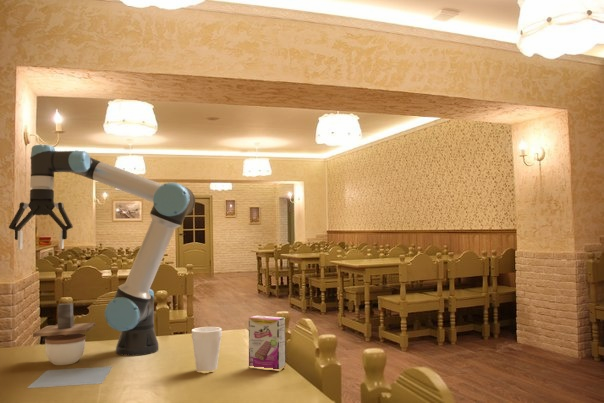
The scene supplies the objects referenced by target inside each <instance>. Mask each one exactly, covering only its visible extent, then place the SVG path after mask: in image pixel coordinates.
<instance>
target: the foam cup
mask: <svg viewBox="0 0 604 403" xmlns="http://www.w3.org/2000/svg"><path fill="white" fill-rule="evenodd" d="M222 332H223V329H222V327H219V326H218V327H217V326H202V327H196V328H192V329H191V338H192V344H193V345H192V346H193V351H194V352H193V353H194V361H195V368H196V369H195V370H196V372H197V371H212V370H215V369H217V370H218V363H219V355H220V350H221V349H220V348H221V340H222V337H223V336H222V335H223V333H222Z"/></svg>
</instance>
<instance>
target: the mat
mask: <svg viewBox="0 0 604 403" xmlns="http://www.w3.org/2000/svg"><path fill="white" fill-rule="evenodd" d="M113 368H114V366H100V367H99V366H98V367H97V366H96V367H82V368H81V367H79V368H64V369H63V368H62V369H61V368H60V369H46V371H44V372H43V373H42V374H40V376H39V377H38V378H37V379H36V380H34V381H33V382H31V384H29V385H28V387H27V389H36V388H37V389H38V388H54V387H68V386H83V385H84V386H85V385H86V386H87V385H100V384H103V383H104V381H105V380H106V378H107V376H108V375H109V374H110V372H111V370H112V369H113Z"/></svg>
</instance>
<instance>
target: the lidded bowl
mask: <svg viewBox="0 0 604 403" xmlns="http://www.w3.org/2000/svg"><path fill="white" fill-rule="evenodd" d="M86 336H87V335H86V333H78V334H64V335H51V336H47V337H46V336H45V338H44V343H45V344H44V346H45V347H44V348H45V354H46V357H47V359H48V361H49V362H50V363H51V364H52V365H54V366H55V365H56V366H66V365H72V364H75V363H77V362H78V361H79V360H80V359H81V358H82V356H83V354H84V351H85V346H86Z"/></svg>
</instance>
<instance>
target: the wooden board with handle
mask: <svg viewBox="0 0 604 403" xmlns="http://www.w3.org/2000/svg"><path fill="white" fill-rule="evenodd" d="M94 327H96V322H85V323H74V303H73V302H67V303H59V304H57V325H46V326H45V327H43V328H41V329H39V330H37V331H35V332H34V333H32V337H34V338H35V337H36V338H37V337H46V336H47V337H49V336H52V335H64V334H78V333H81V334H86V333H87V332H89V331H90V330H91V329H92V328H94Z"/></svg>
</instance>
